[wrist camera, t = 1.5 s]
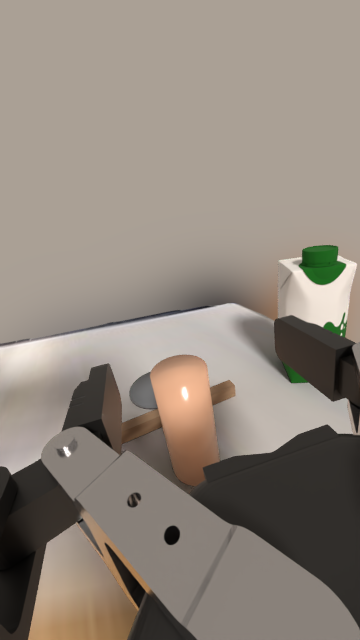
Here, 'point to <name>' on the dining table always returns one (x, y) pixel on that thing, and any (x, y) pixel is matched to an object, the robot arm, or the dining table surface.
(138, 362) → the dining table surface
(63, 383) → the dining table surface
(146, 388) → the coaster
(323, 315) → the milk carton
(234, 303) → the dining table surface
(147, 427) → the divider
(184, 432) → the peach cylinder
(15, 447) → the dining table surface
